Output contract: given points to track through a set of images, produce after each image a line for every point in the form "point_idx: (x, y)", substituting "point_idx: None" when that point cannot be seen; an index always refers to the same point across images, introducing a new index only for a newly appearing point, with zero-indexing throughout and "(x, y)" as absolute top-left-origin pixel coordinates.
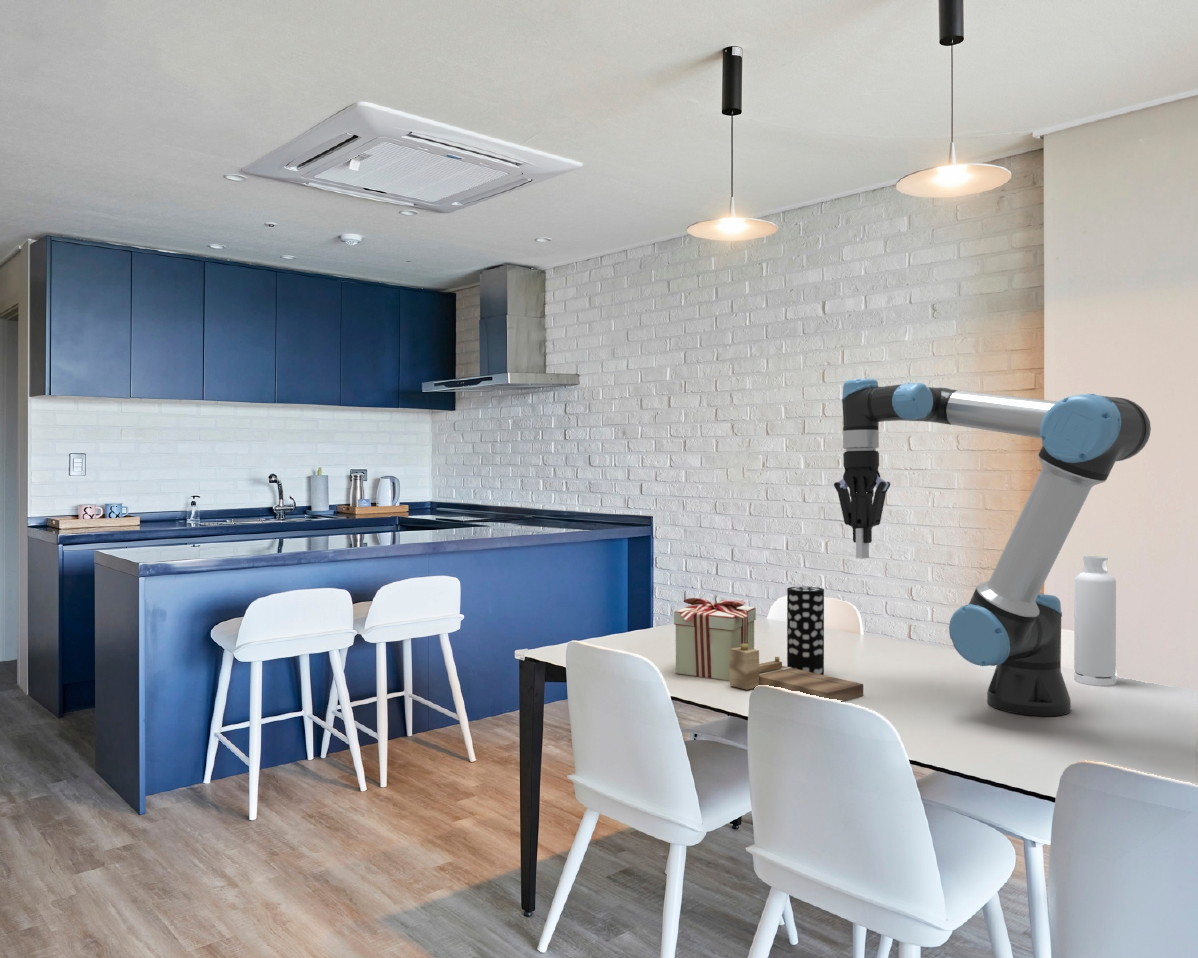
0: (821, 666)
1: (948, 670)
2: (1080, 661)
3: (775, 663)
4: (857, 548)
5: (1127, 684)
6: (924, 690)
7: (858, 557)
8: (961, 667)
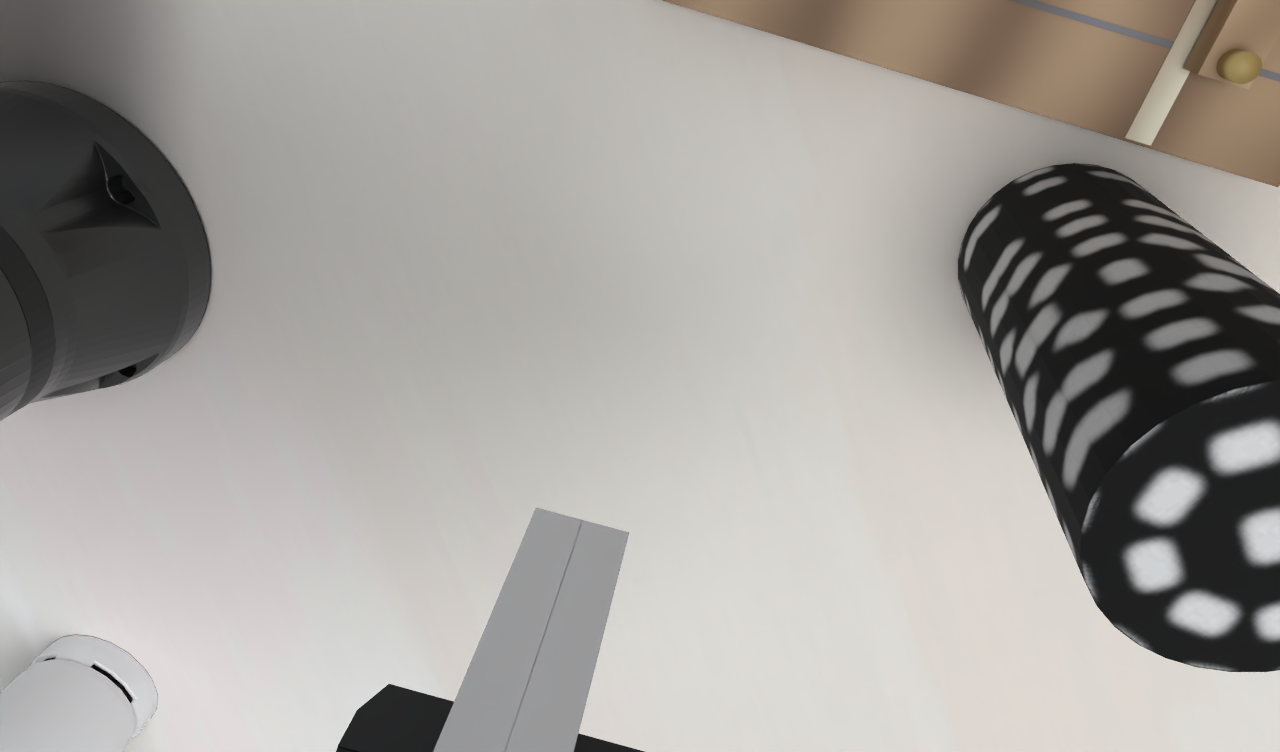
0: (970, 264)
1: None
2: (69, 704)
3: (1232, 7)
4: (577, 622)
5: None
6: (465, 268)
7: (588, 529)
8: None
